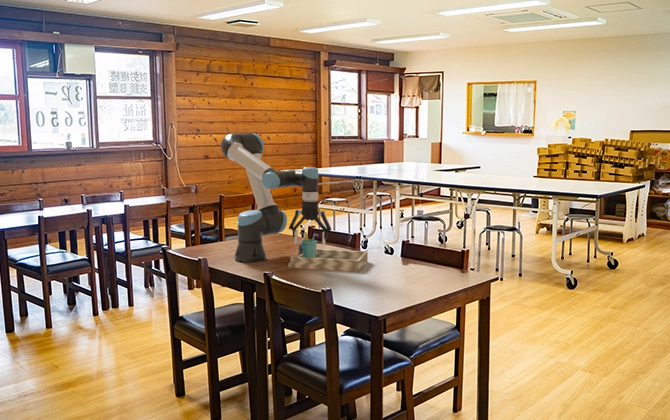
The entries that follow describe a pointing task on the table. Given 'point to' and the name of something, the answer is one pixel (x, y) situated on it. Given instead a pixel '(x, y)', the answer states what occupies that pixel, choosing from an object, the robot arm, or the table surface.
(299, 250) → the winch
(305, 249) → the cup
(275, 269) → the table surface
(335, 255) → the tray
